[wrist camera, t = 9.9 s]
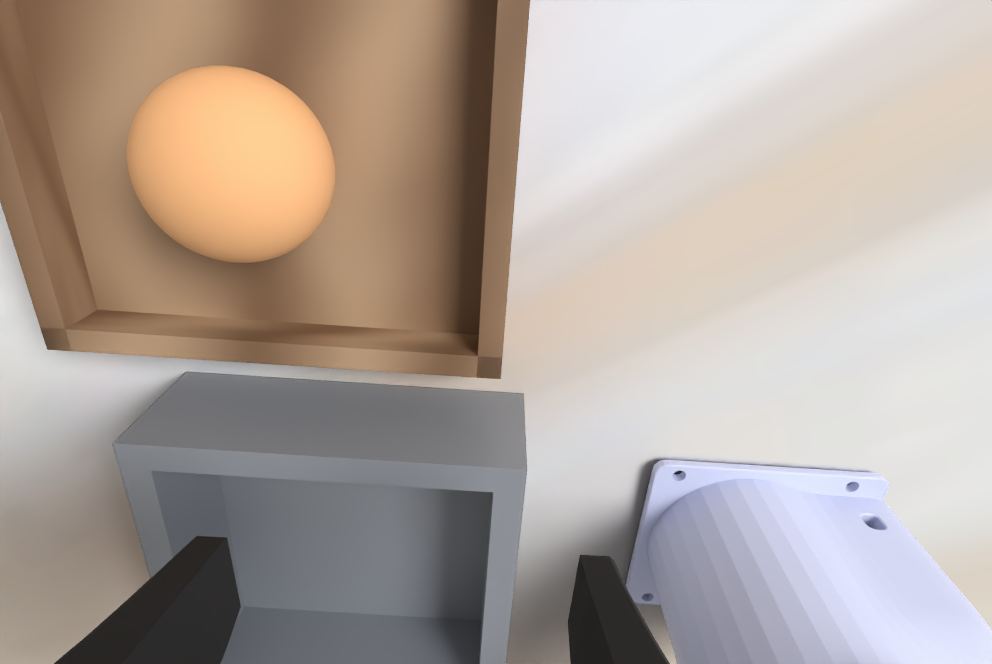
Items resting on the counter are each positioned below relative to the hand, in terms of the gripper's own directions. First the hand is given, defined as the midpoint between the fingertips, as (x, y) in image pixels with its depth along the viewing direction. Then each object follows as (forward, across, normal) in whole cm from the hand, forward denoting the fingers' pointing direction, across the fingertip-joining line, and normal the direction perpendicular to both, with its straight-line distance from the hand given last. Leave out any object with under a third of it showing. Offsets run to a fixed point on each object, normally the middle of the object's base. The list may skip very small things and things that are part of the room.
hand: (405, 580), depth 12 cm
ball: (+7, +6, -7) cm, 11 cm away
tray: (+11, +6, -7) cm, 14 cm away
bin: (+10, +4, +8) cm, 14 cm away
